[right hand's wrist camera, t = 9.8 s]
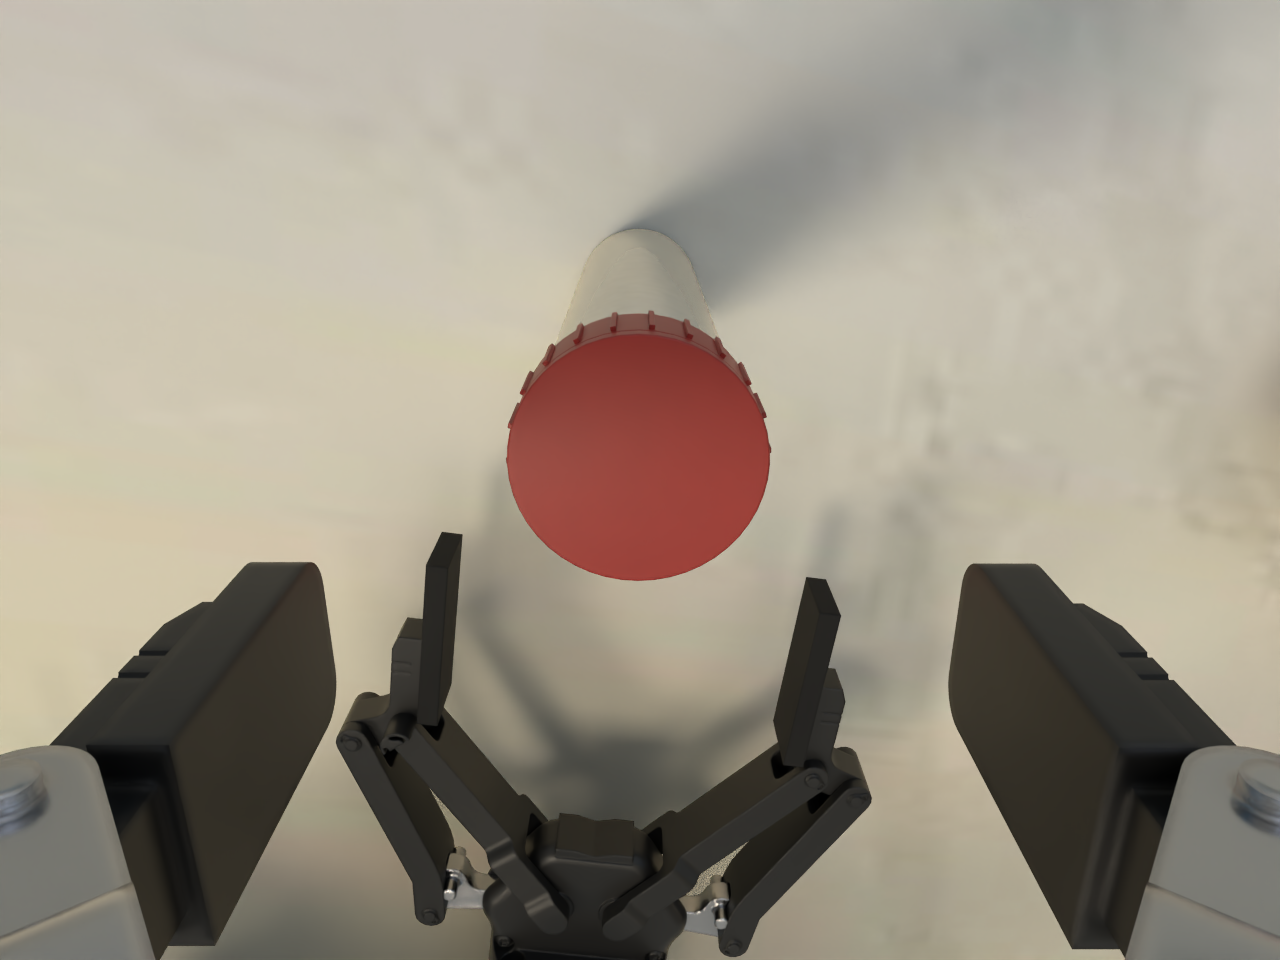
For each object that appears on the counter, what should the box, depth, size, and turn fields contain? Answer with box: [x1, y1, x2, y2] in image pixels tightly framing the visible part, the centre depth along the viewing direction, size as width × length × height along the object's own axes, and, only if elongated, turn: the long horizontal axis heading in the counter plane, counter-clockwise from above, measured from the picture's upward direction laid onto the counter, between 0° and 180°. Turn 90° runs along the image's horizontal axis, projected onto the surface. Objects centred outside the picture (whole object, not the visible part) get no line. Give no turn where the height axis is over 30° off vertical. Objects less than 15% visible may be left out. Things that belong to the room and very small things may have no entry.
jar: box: [555, 229, 719, 345], centre depth 26 cm, size 4×4×19 cm
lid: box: [506, 310, 771, 581], centre depth 18 cm, size 5×5×2 cm
